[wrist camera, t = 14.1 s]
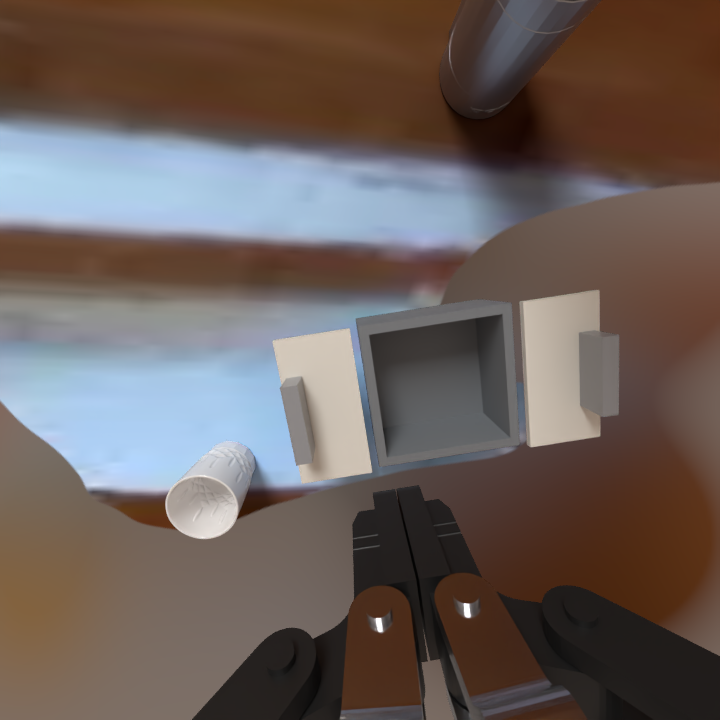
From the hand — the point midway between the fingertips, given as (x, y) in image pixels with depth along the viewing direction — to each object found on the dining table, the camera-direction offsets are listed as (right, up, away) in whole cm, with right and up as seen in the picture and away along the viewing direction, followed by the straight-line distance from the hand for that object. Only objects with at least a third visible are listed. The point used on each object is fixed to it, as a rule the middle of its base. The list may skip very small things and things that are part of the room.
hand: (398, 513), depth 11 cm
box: (+7, +4, +35) cm, 36 cm away
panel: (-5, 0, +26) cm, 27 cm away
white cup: (-19, -9, +37) cm, 43 cm away
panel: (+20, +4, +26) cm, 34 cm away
